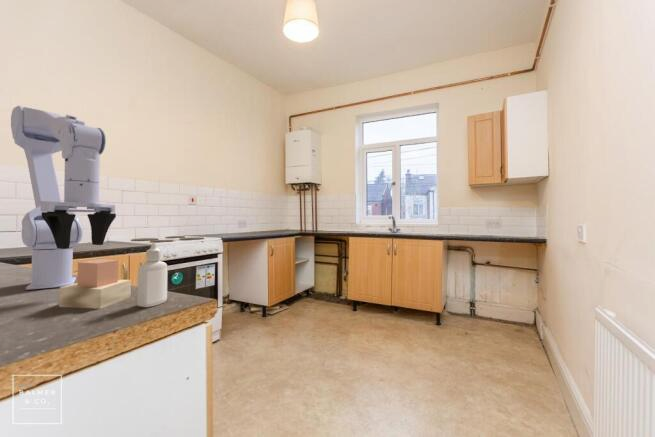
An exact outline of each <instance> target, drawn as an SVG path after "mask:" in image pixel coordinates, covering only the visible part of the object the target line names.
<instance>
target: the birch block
mask: <svg viewBox="0 0 655 437" xmlns="http://www.w3.org/2000/svg"><path fill="white" fill-rule="evenodd" d="M131 287H132V280H131V279H120V278H119V279H118V282H116V283H112V284H108V285H104V286H100V287H89V286H77V282H74V284H71V285H67V286H63V287H59V294H58V295H59V296H58V297H59V301H58V302H59V304H58V307H59V308H75V309H76V308H77V309H79V308H80V309H99V310H100V309H103V308H106V307H108V306H111V305H114V304H117V303H119V302H121V301H124V300H127V299H130V298H131V297H132V296H131V290H132V288H131ZM126 298H127V299H126Z"/></svg>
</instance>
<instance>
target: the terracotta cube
mask: <svg viewBox="0 0 655 437" xmlns="http://www.w3.org/2000/svg"><path fill="white" fill-rule="evenodd" d="M118 278H119V260H118V259H117V260H116V259H106V258H105V259H102V258H97V259H92V260H91V259H90V260H89V259H88V260H84V261H78V262H77V282H76V283H77V286H89V287H100V286H104V285H108V284H112V283H116V282H118Z"/></svg>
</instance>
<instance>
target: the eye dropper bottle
mask: <svg viewBox="0 0 655 437" xmlns="http://www.w3.org/2000/svg"><path fill="white" fill-rule="evenodd" d="M161 252H162V251H161V249H159V248H158V247H157V242H153V243H152V242H151V246H150V247H149V249H146V257H145V258H146V259H145V260H146V262H144V263H142V264H141V265H139V267H138V270H137V296H136V297H137V299H136V300H137V301H136V304H137V307H139V308H152V307H156V306H158V305H161V304H163V303H165V302H167V299H168V264H167V263H166V262H164V261H161V259H162V258H161Z"/></svg>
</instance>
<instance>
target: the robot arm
mask: <svg viewBox="0 0 655 437" xmlns="http://www.w3.org/2000/svg"><path fill="white" fill-rule="evenodd" d="M10 115H11V116H10V129H11V133H12V139H13V141H14V144H15V145H16V146H19V148H22V149H23V151H24V153H25V157H26V161H27V167H28V173H29V178H30V182H31V183H30V184H31V188H32V194H33V198H34V205H35V208H33V209H32V210H30V211H28V212H26V213H25V215H24V216H23V217H22V220H21V240H22V243H23V244H24V246H26V247H27V248H29V249H31V283H30V284H28V285H27V286H26V287H25V290H27V291H28V290H40V289H50V288H51V289H52V288H60V287H63V286H67V285H71V284H75V283H76V282H75V281H76V279H77V277H76V276H73V266H74V264H73V259H74V258H73V257H74V255H73V252H74V249H73V248H76V247H77V245H78V244H80V242H81V241H82V238H83V232H84V231H83V230H84V229H83V225H82V223H81V222H80V221H79V218H78V215H77V213H88V214H87V215H86V216H87V218H88V222H89V224H90V225H89V226H90V232H91V244H92V245H94V246H102V245H103V244H104V242H105V239H106V235H107V233H108V230H109V229H110V227H111V224H112V223H113V222H114V220H115V219H116V216H117V213H116V204H111V203H110V204H109V203H100V164H101V163H100V158H101V157H100V156H101V155H102V154H103V153H104V150H105V148H106V142H107V141H106V139H107V138H106V133H105V131H104V130H103V129H102V128H100V127H92V126H89V125H86V122H84V120H83V121H82V120H78V119H77V117H76V116H74V115H71V114H66V115H62V114H59V113H58V114H57V113H53V112H51V111H45V110H41V109H36V108H32V107H31V108H30V107H26V106H21V105H16V106H14V108H13V109H12V110H11V114H10ZM58 152H61V157H62V159H64V184H63V185H64V186H63V187H64V188H63V194H64V195H63V197H64V198H63V201H62V198H61V193H60V192H61V191H60V187H59V184H58V177H57V173H56V168H55V162H54V159H53V155H54V154H55V153H58ZM77 208H86V209H77Z"/></svg>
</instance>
